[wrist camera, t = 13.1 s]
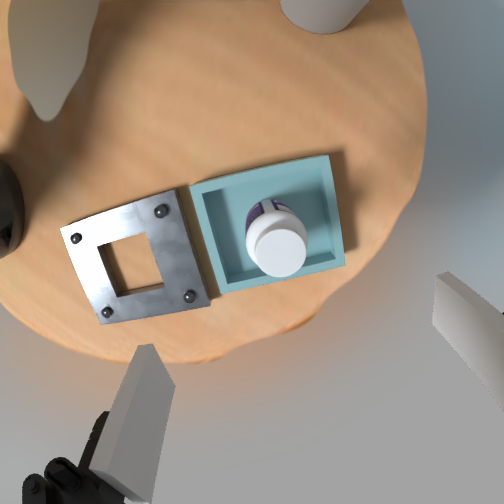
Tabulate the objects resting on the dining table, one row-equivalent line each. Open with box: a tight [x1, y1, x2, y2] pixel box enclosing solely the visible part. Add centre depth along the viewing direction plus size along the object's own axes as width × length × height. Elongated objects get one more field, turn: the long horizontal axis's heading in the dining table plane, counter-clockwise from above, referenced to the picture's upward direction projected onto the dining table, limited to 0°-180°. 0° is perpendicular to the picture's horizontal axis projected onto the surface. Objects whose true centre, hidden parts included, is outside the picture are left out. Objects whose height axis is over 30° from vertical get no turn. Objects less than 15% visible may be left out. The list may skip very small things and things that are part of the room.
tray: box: [189, 155, 345, 294], centre depth 30 cm, size 14×12×3 cm
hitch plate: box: [61, 188, 212, 325], centre depth 32 cm, size 16×14×2 cm
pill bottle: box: [245, 199, 308, 277], centre depth 27 cm, size 5×5×10 cm
